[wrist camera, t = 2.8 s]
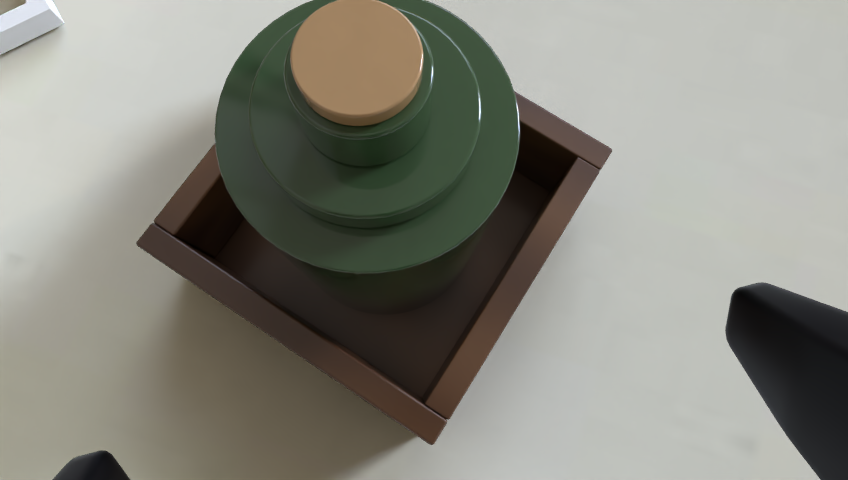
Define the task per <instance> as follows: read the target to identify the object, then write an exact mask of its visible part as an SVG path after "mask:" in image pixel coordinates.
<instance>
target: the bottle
mask: <svg viewBox="0 0 848 480" xmlns="http://www.w3.org/2000/svg"><path fill="white" fill-rule="evenodd" d="M519 141H520V119H519V110H518V105H517V100H516V96H515V93H514V90H513V87H512V84H511V81H510V78H509V77H508V75H507V73H506V71H505V69H504V67H503V65H502V63H501V61H500V60H499V58H498V57H497V55H496V54H495V52H494V51H493V50H492V48H491V47H490V46H489V44H488V43H487V42H486V41H485V40H484V39H483V38H482V37H481V36H480V34H479V33H477V32H476V31H475V30H474V29H473V28H472V27H470V26H469V25H468V24H467V23H466V22H465V21H463V20H462V19H460V18H459V17H457V16H456V15H454V14H453V13H451V12H450V11H448V10H446V9H444V8H442V7H440V6H438V5H436V4H434V3H431V2H429V1H426V0H312V1H310V2H307V3H304V4H302V5H300V6H298V7H296V8H294V9H292V10H290V11H288V12H287V13H285V14H284V15H282V16H281V17H279V18H278V19H276V20H274V21H273V22H272V23H271V24H269V25H268V26H267V27H266V28H265V29H263V30H262V31H261V32H260V33H259V34H258V35H257V36H256V37H255V38H254V39H253V40H252V41H251V42H250V43H249V45H248V46H247V47H246V48H245V49H244V51H243V52H242V54H241V55H240V56H239V58H238V59H237V61H236V62H235V64H234V66H233V68H232V69H231V71H230V73H229V75H228V77H227V79H226V82H225V84H224V87H223V90H222V93H221V95H220V99H219V104H218V108H217V113H216V123H215V145H216V155H217V159H218V164H219V169H220V172H221V175H222V178H223V180H224V183H225V186H226V188H227V190H228V192H229V194H230V196H231V198H232V199H233V201H234V203H235V205H236V207H237V208H238V209H239V211H240V212H241V213H242V215H243V216H244V217H245V219H246V220H247V221H248V222H249V223H250V224H251V225H252V226H253V227H254V228H255V229H256V230H257V231H258V232H259V233H260V234H261V235H262V236H263V237H264V238H265V239H266V240H267V241H268V242H269V243H270V244H272V245H273V246H274V247H275V248H276V249H277V250H278V251H279V252H280V253H281V254H283V255H284V256H285V257H286V258H287V259H288V260H289V261H290V262H291V263H292V264H294V265H295V266H296V267H297V268H298V269H299V270H300V271H301V272H302V273H304V274H305V275H306V276H307V277H308V278H309V279H310V280H311V281H312V282H313V283H315V284H316V285H317V286H318V287H319V288H320V289H321V290H322V291H323V292H325V293H326V294H327V295H328V296H330V297H331V298H332V299H334V300H335V301H337V302H339V303H341V304H342V305H344V306H346V307H349V308H351V309H354V310H357V311H360V312H364V313H369V314H377V315H393V314H400V313H405V312H409V311H412V310H416V309H418V308H421V307H423V306H425V305H427V304H429V303H431V302H432V301H434V300H436V299H437V298H439V297H440V296H441V295H443V294H444V293H445V292H446V291H447V290H448V289H449V288H450V287H451V286H452V285H453V284H454V283H455V282H456V281H457V279H458V278H459V277H460V275H461V274H462V272H463V271H464V269H465V267H466V265H467V263H468V261H469V259H470V258H471V256H472V254H473V252H474V250H475V248H476V246H477V244H478V242H479V240H480V239H481V237H482V235H483V233H484V231H485V229H486V227H487V225H488V223H489V221H490V220H491V218H492V216H493V214H494V212H495V210H496V208H497V206H498V204H499V202H500V201H501V199H502V197H503V195H504V193H505V191H506V189H507V187H508V185H509V182H510V180H511V177H512V174H513V172H514V169H515V165H516V160H517V156H518V152H519Z"/></svg>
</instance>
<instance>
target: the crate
mask: <svg viewBox="0 0 848 480" xmlns="http://www.w3.org/2000/svg"><path fill="white" fill-rule="evenodd" d="M514 93H515V96H516V100H517V105H518V110H519V119H520V141H519V152H518V156H517V160H516V165H515V169H514V172H513V174H512V177H511V180H510V182H509V185H508V187H507V189H506V191H505V193H504V195H503V197H502V199H501V201H500V202H499V204H498V206H497V208H496V210H495V212H494V214H493V216H492V218H491V220H490V221H489V223H488V225H487V227H486V229H485V231H484V233H483V235H482V237H481V239H480V240H479V242H478V244H477V246H476V248H475V250H474V252H473V254H472V256H471V258H470V259H469V261H468V263H467V265H466V267H465V269H464V271H463V272H462V274H461V275H460V277H459V278H458V279H457V281H456V282H455V283H454V284H453V285H452V286H451V287H450V288H449V289H448V290H447V291H446V292H445V293H444V294H443V295H441V296H440V297H439V298H437V299H436V300H434V301H432V302H431V303H429V304H427V305H425V306H423V307H421V308H418V309H416V310H412V311H409V312H405V313H400V314H393V315H377V314H369V313H364V312H360V311H357V310H354V309H351V308H349V307H346V306H344V305H342V304H341V303H339V302H337V301H335V300H334V299H332V298H331V297H330V296H328V295H327V294H326V293H325V292H323V291H322V290H321V289H320V288H319V287H318V286H317V285H316V284H315V283H313V282H312V281H311V280H310V279H309V278H308V277H307V276H306V275H305V274H304V273H302V272H301V271H300V270H299V269H298V268H297V267H296V266H295V265H294V264H292V263H291V262H290V261H289V260H288V259H287V258H286V257H285V256H284V255H283V254H281V253H280V252H279V251H278V250H277V249H276V248H275V247H274V246H273V245H272V244H270V243H269V242H268V241H267V240H266V239H265V238H264V237H263V236H262V235H261V234H260V233H259V232H258V231H257V230H256V229H255V228H254V227H253V226H252V225H251V224H250V223H249V222H248V221H247V220H246V219H245V217H244V216H243V215H242V213H241V212H240V211H239V209H238V208H237V207H236V205H235V203H234V201H233V199H232V198H231V196H230V194H229V192H228V190H227V188H226V186H225V183H224V180H223V178H222V175H221V172H220V169H219V164H218V159H217V155H216V145H215V144H214V145H213V146H212V147H211V149H210V150H209V151H208V153H207V154H206V155H205V156H204V158H203V159H202V160H201V161H200V163H199V164H198V165H197V166H196V168H195V169H194V170H193V172H192V173H191V174H190V175H189V177H188V178H187V179H186V180H185V182H184V183H183V184H182V185H181V187H180V188H179V189H178V190H177V192H176V193H175V194H174V196H173V197H172V198H171V199H170V201H169V202H168V203H167V204H166V206H165V207H164V208H163V209H162V211H161V212H160V213H159V214H158V216H157V217H156V218H155V220H154V222H155V223H152V224H151V225H150V226H149V227H148V229H147V230H146V231H145V232H144V234H143V235H142V236H141V237H140V239H139V240H138V241H137V243H136V244H137V246H138V247H140V248H141V249H143V250H144V251H146V252H147V253H149V254H150V255H152V256H153V257H155V258H156V259H157V260H159V261H160V262H162V263H163V264H165V265H166V266H168V267H169V268H171V269H172V270H174V271H175V272H177V273H178V274H180V275H181V276H182V277H184V278H185V279H187V280H188V281H190V282H191V283H193V284H194V285H196V286H197V287H199V288H200V289H202V290H203V291H205V292H206V293H208V294H209V295H210V296H212V297H213V298H215V299H216V300H218V301H219V302H221V303H222V304H224V305H225V306H227V307H228V308H230V309H231V310H233V311H234V312H235V313H237V314H238V315H240V316H241V317H243V318H244V319H246V320H247V321H249V322H250V323H252V324H253V325H255V326H256V327H258V328H259V329H261V330H262V331H263V332H265V333H266V334H268V335H269V336H271V337H272V338H274V339H275V340H277V341H278V342H280V343H281V344H283V345H284V346H286V347H287V348H288V349H290V350H291V351H293V352H294V353H296V354H297V355H299V356H300V357H302V358H303V359H305V360H306V361H308V362H309V363H311V364H312V365H314V366H315V367H316V368H318V369H319V370H321V371H322V372H324V373H325V374H327V375H328V376H330V377H331V378H333V379H334V380H336V381H337V382H339V383H340V384H341V385H343V386H344V387H346V388H347V389H349V390H350V391H352V392H353V393H355V394H356V395H358V396H359V397H361V398H362V399H364V400H365V401H367V402H368V403H369V404H371V405H372V406H374V407H375V408H377V409H378V410H380V411H381V412H383V413H384V414H386V415H387V416H389V417H390V418H392V419H393V420H394V421H396V422H397V423H399V424H400V425H402V426H403V427H405V428H406V429H408V430H409V431H411V432H412V433H414V434H415V435H417V436H418V437H420V438H421V439H422V440H424V441H425V442H427V443H428V444H430V445H433V444H434V443H435V442H436V440H437V439H438V437H439V435H440V434H441V432H442V430H443V429H444V427H445V425H446V424H447V420H446V419H450V417H451V416H452V414H453V412H454V411H455V409H456V407H457V406H458V404H459V403H460V401H461V399H462V398H463V396H464V394H465V393H466V391H467V389H468V388H469V386H470V384H471V383H472V381H473V379H474V378H475V376H476V375H477V373H478V371H479V370H480V368H481V366H482V365H483V363H484V361H485V360H486V358H487V356H488V355H489V353H490V351H491V350H492V348H493V347H494V345H495V343H496V342H497V340H498V338H499V337H500V335H501V333H502V332H503V330H504V328H505V327H506V325H507V323H508V322H509V320H510V319H511V317H512V315H513V314H514V312H515V310H516V309H517V307H518V305H519V304H520V302H521V300H522V299H523V297H524V295H525V294H526V292H527V290H528V289H529V287H530V286H531V284H532V282H533V281H534V279H535V277H536V276H537V274H538V272H539V271H540V269H541V267H542V266H543V264H544V262H545V261H546V259H547V258H548V256H549V254H550V253H551V251H552V249H553V248H554V246H555V244H556V243H557V241H558V239H559V238H560V236H561V234H562V233H563V231H564V230H565V228H566V226H567V225H568V223H569V221H570V220H571V218H572V216H573V215H574V213H575V211H576V210H577V208H578V206H579V205H580V203H581V202H582V200H583V198H584V197H585V195H586V193H587V192H588V190H589V188H590V187H591V185H592V183H593V182H594V180H595V178H596V177H597V175H598V174H599V171H600V170H601V169H602V167H603V165H604V164H605V162H606V160H607V159H608V157H609V155H610V154H611V152H612V149H611V148H609V147H608V146H606V145H604V144H603V143H601V142H599V141H598V140H596V139H594V138H592V137H591V136H589V135H587V134H586V133H584V132H582V131H581V130H579V129H577V128H576V127H574V126H572V125H570V124H569V123H567V122H565V121H564V120H562V119H560V118H559V117H557V116H555V115H554V114H552V113H550V112H548V111H547V110H545V109H543V108H542V107H540V106H538V105H537V104H535V103H533V102H532V101H530V100H528V99H526V98H525V97H523V96H521V95H520V94H518V93H516V92H515V91H514Z"/></svg>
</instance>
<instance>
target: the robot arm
mask: <svg viewBox="0 0 848 480" xmlns="http://www.w3.org/2000/svg"><path fill="white" fill-rule="evenodd" d="M725 331H726V338H727V341H728V343H729V346H730V347H731V349H732V351H733V352H734V354H735V355H736V357H737V359H738V360H739V362H740V363H741V365H742V366H743V368H744V370H745V371H746V373H747V374H748V376H749V378H750V379H751V381H752V382H753V384H754V385H755V387H756V389H757V390H758V392H759V393H760V395H761V396H762V398H763V400H764V401H765V403H766V404H767V406H768V408H769V409H770V411H771V412H772V414H773V415H774V417H775V419H776V420H777V422H778V423H779V425H780V426H781V428H782V429H783V431H784V432H785V434H786V435H787V436H788V438H789V439H790V440H791V442H792V443H793V444H794V446H795V447H796V448H797V450H798V451H799V452H800V454H801V455H802V456H803V458H804V459H805V460H806V461H807V463H808V464H809V465H810V467H811V468H812V469H813V470H814V472H815V473H816V474H817V476H818V477H819V478H820V479H821V480H848V312H846V311H843V310H840V309H838V308H835V307H832V306H829V305H826V304H824V303H821V302H818V301H815V300H813V299H810V298H807V297H804V296H801V295H799V294H796V293H793V292H790V291H788V290H785V289H782V288H779V287H777V286H774V285H771V284H768V283H756V284H752V285H748V286H744V287H740V288H737V289H736V290H735V291H734V292H733V294H732V296H731V301H730V307H729V312H728V318H727V323H726V330H725ZM53 480H130V479H129V477H128V476H127V474H126V473H125V472H124V470H123V469H122V468H121V466H120V465H119V463H118V462H117V461H116V459H115V458H114V457H113V455H112V454H111V453H109V452H107V451H97V452H93V453H89V454H85V455H82V456H78V457H75V458H73V459H72V460H71V461H69V462H68V463H67V464H66V465H65V466H64V468H63V469H62V470H61V471H60V472H59V473H58V474H57V475H56V476H55V477H54V479H53Z"/></svg>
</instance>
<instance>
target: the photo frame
mask: <svg viewBox="0 0 848 480" xmlns="http://www.w3.org/2000/svg"><path fill="white" fill-rule="evenodd" d="M25 1H26V3H25V4H23V5H21V6H19V7H17V8H15V9H13V10H10V11H8V12H6V13H4V14H2V15H0V55H1V54H3V53H5V52H7V51H9V50H11V49H13V48H15V47H17V46H20V45H22V44H24V43H26V42H28V41H30V40H32V39H34V38H36V37H38V36H40V35H42V34H44V33H46V32H48V31H50V30H53V29H55V28H57V27H59V26H61V25H63V24H65V23H64V21H63V19H62V18H61V16H60V14H59V12H58V10H57V8H56V6H55V5H54V3H53V1H52V0H25Z"/></svg>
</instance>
